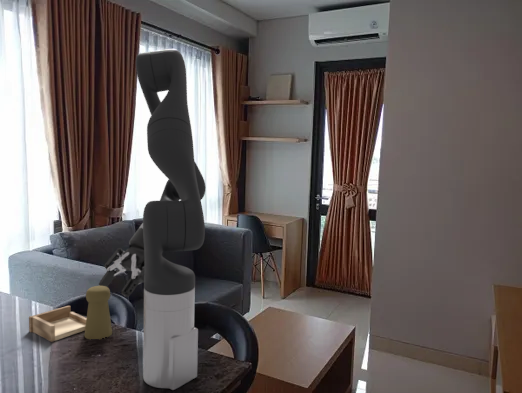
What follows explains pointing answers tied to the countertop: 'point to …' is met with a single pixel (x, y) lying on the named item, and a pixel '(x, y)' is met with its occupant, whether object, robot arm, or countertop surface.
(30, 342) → the countertop surface
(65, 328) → the wooden open tray
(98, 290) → the cork
